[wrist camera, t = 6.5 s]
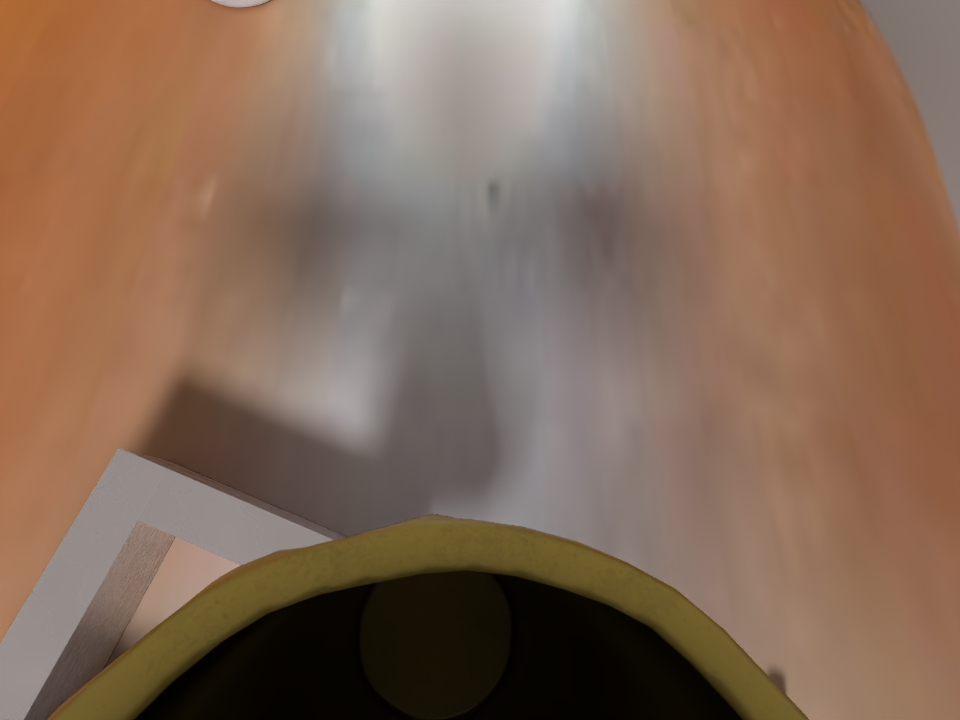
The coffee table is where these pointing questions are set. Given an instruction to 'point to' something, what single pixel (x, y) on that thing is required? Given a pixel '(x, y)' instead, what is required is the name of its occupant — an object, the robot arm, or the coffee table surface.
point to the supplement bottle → (240, 2)
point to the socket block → (126, 571)
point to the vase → (435, 638)
